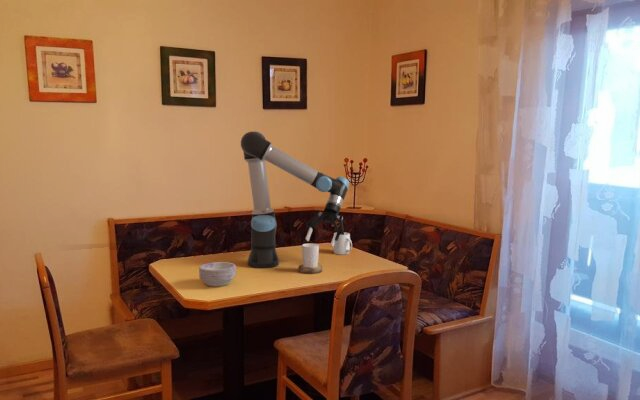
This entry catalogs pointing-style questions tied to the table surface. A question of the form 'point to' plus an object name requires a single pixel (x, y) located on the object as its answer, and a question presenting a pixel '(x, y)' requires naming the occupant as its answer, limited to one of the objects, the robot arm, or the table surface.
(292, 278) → the table surface
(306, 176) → the robot arm
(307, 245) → the white cup
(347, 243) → the mug
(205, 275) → the grey bowl
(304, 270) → the trivet
